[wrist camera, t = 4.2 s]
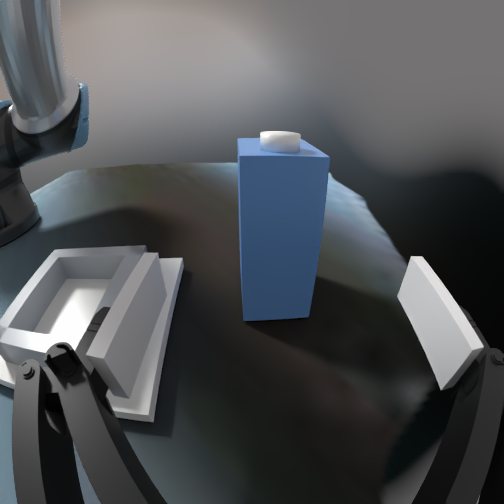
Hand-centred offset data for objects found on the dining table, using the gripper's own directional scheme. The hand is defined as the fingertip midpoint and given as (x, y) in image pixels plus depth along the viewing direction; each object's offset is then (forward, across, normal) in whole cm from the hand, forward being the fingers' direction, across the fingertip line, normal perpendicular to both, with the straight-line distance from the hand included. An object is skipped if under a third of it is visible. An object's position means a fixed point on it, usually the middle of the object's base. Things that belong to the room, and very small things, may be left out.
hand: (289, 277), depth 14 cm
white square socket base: (+2, -16, -7) cm, 17 cm away
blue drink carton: (+7, 0, -7) cm, 10 cm away
